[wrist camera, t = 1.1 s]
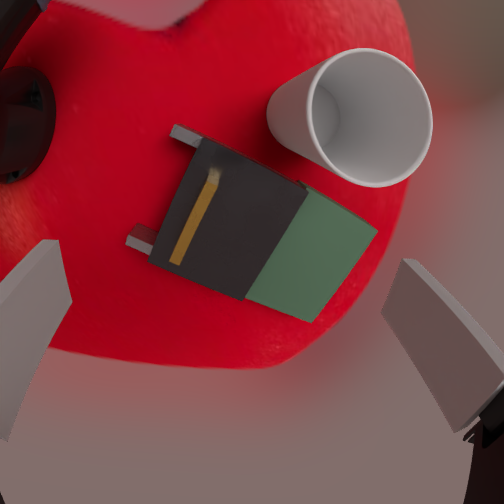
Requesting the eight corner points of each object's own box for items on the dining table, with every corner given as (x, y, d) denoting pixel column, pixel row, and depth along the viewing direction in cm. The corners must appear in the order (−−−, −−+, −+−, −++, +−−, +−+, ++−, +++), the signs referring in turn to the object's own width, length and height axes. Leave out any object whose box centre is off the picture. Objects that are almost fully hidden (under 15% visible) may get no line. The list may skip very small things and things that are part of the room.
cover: (148, 258, 29) (139, 276, 26) (203, 136, 24) (199, 139, 21) (241, 297, 32) (243, 318, 29) (307, 190, 27) (318, 201, 24)
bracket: (134, 231, 32) (125, 244, 28) (180, 123, 27) (174, 124, 24) (240, 277, 36) (241, 294, 32) (297, 182, 31) (305, 190, 28)
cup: (346, 91, 26) (441, 80, 12) (332, 160, 30) (415, 201, 16) (273, 71, 25) (321, 27, 11) (259, 144, 29) (292, 171, 14)
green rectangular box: (239, 279, 36) (240, 295, 32) (298, 179, 31) (306, 187, 28) (305, 306, 38) (311, 322, 35) (365, 220, 33) (377, 231, 30)
